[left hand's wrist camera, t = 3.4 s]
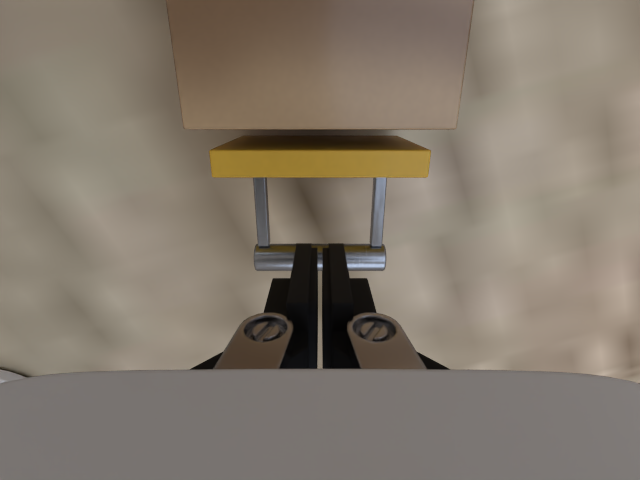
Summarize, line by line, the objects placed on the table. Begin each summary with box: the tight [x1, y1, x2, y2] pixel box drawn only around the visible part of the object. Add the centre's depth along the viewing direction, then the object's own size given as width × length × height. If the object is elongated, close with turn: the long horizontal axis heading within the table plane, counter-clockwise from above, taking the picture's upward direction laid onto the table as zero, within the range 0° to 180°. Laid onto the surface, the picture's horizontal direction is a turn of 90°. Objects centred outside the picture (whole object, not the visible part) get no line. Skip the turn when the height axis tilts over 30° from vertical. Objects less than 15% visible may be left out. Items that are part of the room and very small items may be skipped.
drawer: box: [209, 136, 431, 271], centre depth 16 cm, size 24×10×7 cm, turn 0°
